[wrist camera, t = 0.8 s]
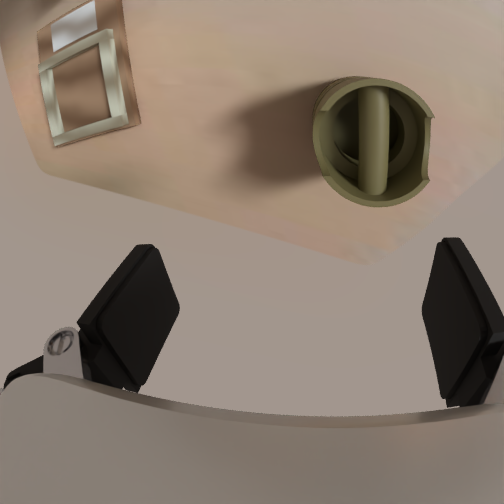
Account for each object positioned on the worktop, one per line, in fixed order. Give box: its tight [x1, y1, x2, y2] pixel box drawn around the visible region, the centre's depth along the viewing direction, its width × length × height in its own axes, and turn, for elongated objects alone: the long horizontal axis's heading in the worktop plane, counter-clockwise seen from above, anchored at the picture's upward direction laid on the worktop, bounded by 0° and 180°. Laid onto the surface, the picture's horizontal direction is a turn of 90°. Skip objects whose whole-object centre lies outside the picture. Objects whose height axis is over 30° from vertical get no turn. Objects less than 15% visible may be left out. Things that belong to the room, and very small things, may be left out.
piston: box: [313, 76, 435, 207], centre depth 27 cm, size 11×12×11 cm
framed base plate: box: [37, 0, 141, 147], centre depth 32 cm, size 21×16×3 cm
